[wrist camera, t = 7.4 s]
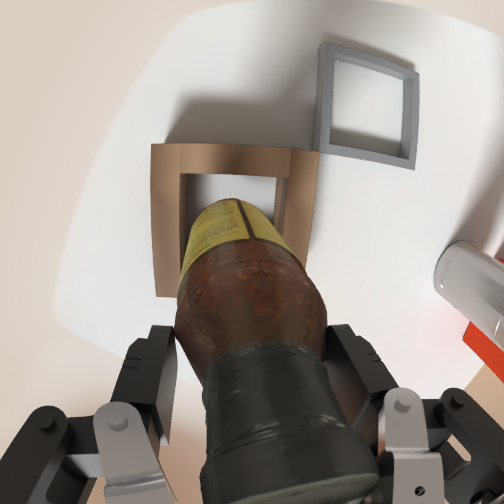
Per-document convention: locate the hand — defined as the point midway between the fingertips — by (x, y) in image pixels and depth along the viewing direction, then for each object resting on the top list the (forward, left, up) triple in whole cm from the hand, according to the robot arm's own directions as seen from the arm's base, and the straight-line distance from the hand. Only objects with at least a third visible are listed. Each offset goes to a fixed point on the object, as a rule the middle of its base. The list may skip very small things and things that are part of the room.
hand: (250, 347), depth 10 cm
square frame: (-14, -13, -20) cm, 28 cm away
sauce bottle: (0, 0, -14) cm, 14 cm away
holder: (0, 0, -20) cm, 20 cm away
